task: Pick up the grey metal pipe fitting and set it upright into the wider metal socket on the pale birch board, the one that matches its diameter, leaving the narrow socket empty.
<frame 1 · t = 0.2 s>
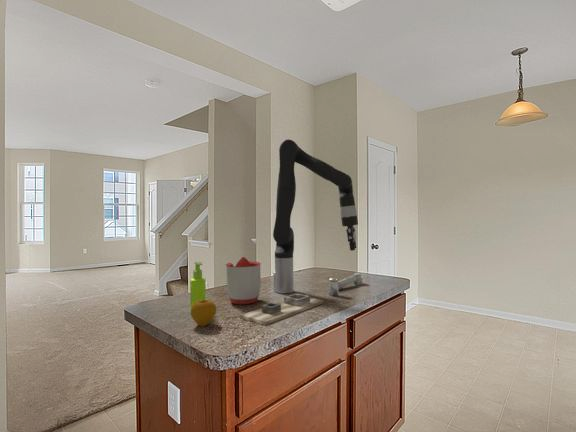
hand: (353, 249, 155), 21 cm above the table, tool pointing down, fingers open, 8 cm apart
pipe fitting: (333, 295, 154), on the table
citrus juicer: (243, 301, 146), on the table
apple: (204, 325, 114), on the table
grey piece: (347, 287, 171), on the table
soap dispenser: (198, 312, 130), on the table
socket board: (284, 310, 131), on the table
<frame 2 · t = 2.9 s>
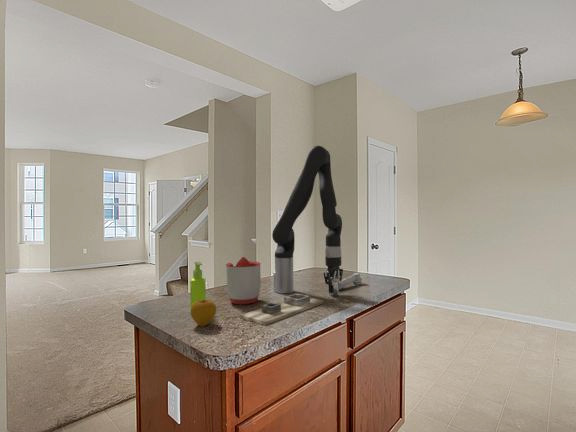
hand: (333, 291, 154), 2 cm above the table, tool pointing down, fingers closed on pipe fitting, 4 cm apart
pipe fitting: (333, 295, 154), on the table, touching gripper
everything else where it was.
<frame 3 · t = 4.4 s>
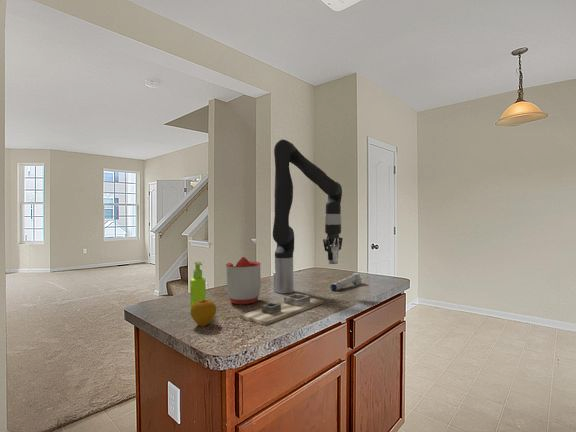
hand: (333, 259, 154), 17 cm above the table, tool pointing down, fingers closed on pipe fitting, 4 cm apart
pipe fitting: (333, 263, 154), point 15 cm above the table, touching gripper
everything else where it was.
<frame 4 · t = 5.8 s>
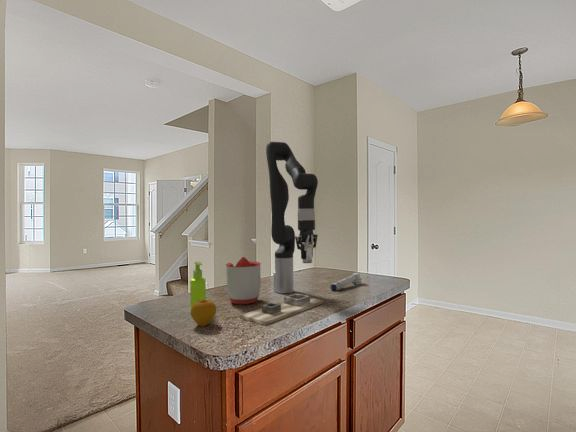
hand: (307, 258, 141), 19 cm above the table, tool pointing down, fingers closed on pipe fitting, 4 cm apart
pipe fitting: (307, 262, 141), point 18 cm above the table, touching gripper
everything else where it was.
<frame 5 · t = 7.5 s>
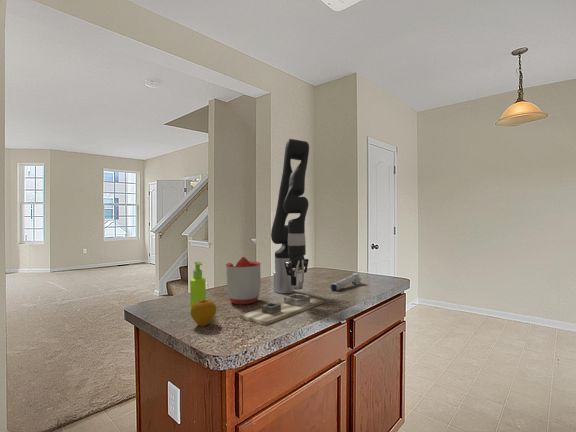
hand: (297, 284, 137), 9 cm above the table, tool pointing down, fingers closed on pipe fitting, 4 cm apart
pipe fitting: (297, 288, 137), point 7 cm above the table, touching gripper
everything else where it was.
when the fingers open (4 cm above the table, at t = 8.8 s): pipe fitting drops 1 cm, resting on socket board.
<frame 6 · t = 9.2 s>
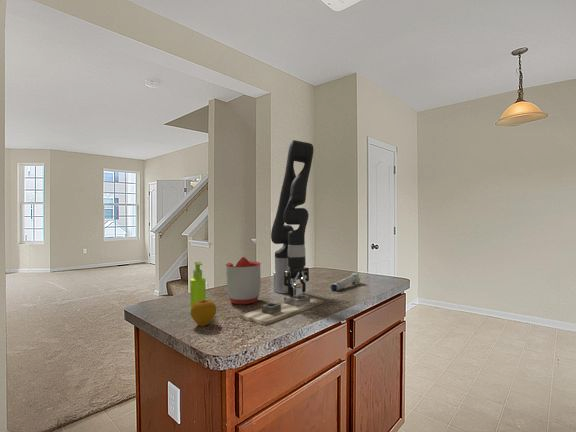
hand: (297, 293, 137), 5 cm above the table, tool pointing down, fingers open, 7 cm apart
pipe fitting: (297, 302, 137), point 1 cm above the table, touching socket board
everything else where it was.
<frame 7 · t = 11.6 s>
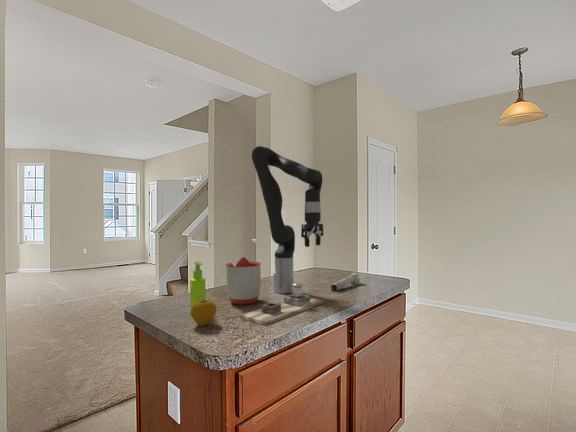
hand: (312, 246, 153), 24 cm above the table, tool pointing down, fingers open, 8 cm apart
nothing on the table moved.
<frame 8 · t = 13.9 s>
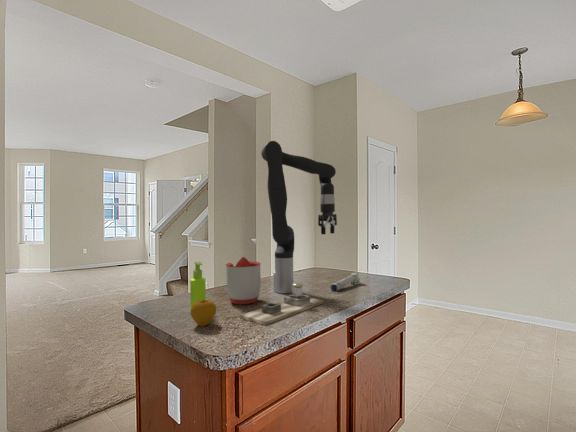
hand: (327, 233, 172), 28 cm above the table, tool pointing down, fingers open, 8 cm apart
nothing on the table moved.
at the end: pipe fitting 0.1 cm from the target spot on the socket board, point 1.2 cm above the socket board's base; pipe fitting tilted 0°; the gripper is holding nothing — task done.
